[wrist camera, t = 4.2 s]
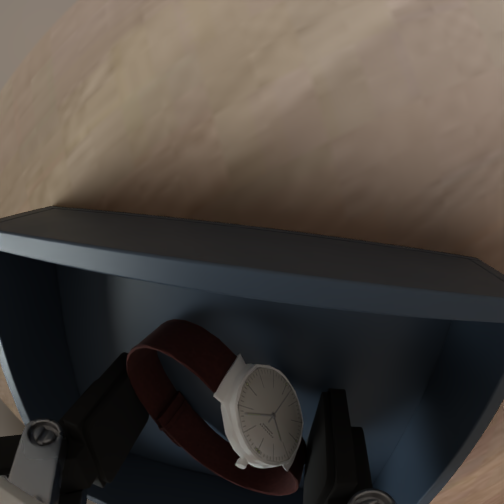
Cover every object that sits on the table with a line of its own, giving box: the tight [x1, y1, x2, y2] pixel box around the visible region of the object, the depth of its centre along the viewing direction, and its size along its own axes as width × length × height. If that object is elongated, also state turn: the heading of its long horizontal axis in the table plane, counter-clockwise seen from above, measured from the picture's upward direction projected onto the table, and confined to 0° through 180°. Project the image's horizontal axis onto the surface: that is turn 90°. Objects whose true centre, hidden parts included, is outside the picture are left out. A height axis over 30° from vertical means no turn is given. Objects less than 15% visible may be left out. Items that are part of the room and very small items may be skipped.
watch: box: [126, 319, 307, 496], centre depth 9 cm, size 8×5×4 cm, turn 34°
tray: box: [0, 206, 504, 504], centre depth 9 cm, size 15×12×4 cm
